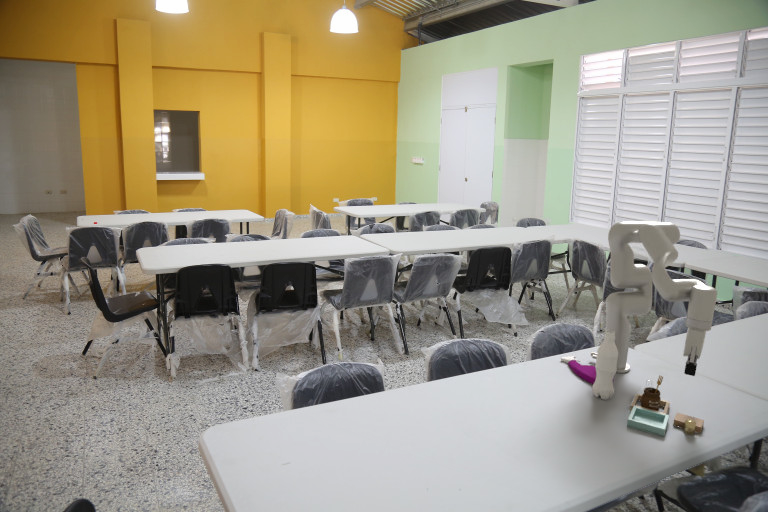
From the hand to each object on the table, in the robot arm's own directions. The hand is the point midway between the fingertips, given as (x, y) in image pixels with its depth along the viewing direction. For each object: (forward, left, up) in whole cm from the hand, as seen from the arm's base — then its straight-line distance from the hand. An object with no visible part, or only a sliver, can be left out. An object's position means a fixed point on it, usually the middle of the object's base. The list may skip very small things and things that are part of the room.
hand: (689, 374), depth 194 cm
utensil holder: (-10, -2, -15) cm, 19 cm away
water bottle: (-26, -2, -15) cm, 30 cm away
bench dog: (+3, -12, -15) cm, 19 cm away
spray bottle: (-37, +17, -16) cm, 44 cm away
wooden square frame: (-10, -2, -15) cm, 18 cm away
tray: (-9, -14, -15) cm, 22 cm away
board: (+2, -7, -16) cm, 17 cm away
